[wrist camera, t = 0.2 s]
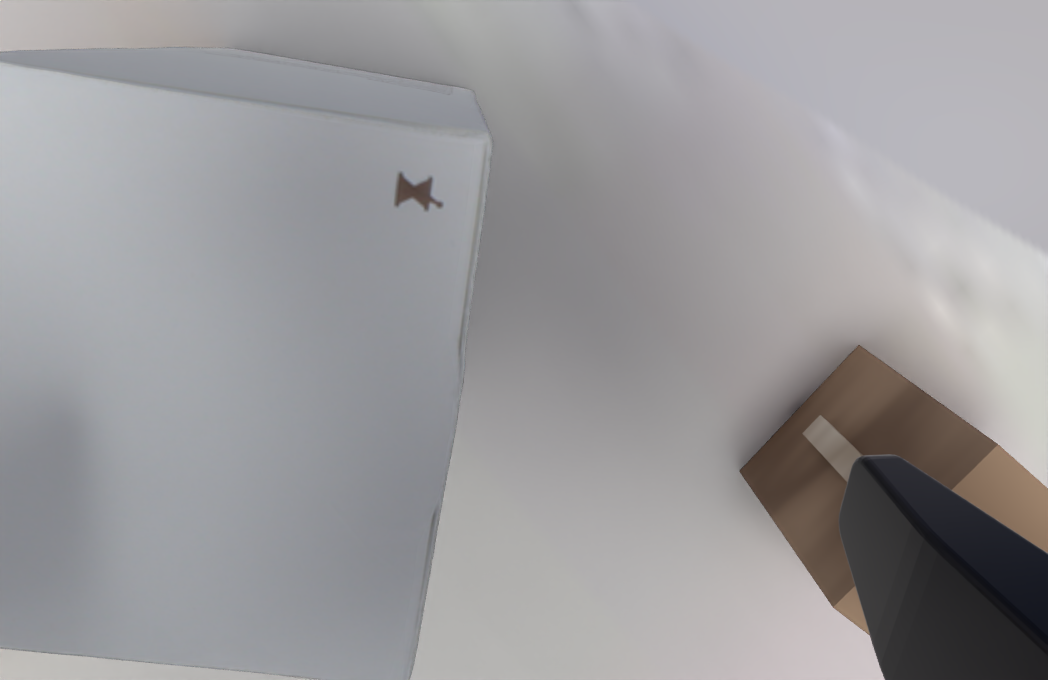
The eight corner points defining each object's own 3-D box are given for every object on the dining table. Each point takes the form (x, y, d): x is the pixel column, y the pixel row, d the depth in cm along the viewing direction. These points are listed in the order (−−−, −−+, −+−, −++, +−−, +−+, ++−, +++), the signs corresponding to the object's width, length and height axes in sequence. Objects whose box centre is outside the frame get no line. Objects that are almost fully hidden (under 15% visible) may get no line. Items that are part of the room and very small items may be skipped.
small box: (223, 44, 22) (-63, 32, 10) (479, 87, 23) (509, 125, 11) (202, 354, 25) (-52, 659, 12) (436, 385, 25) (419, 699, 13)
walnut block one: (853, 560, 28) (977, 717, 22) (731, 465, 27) (823, 600, 20) (971, 443, 27) (1138, 569, 21) (851, 338, 26) (988, 436, 19)
